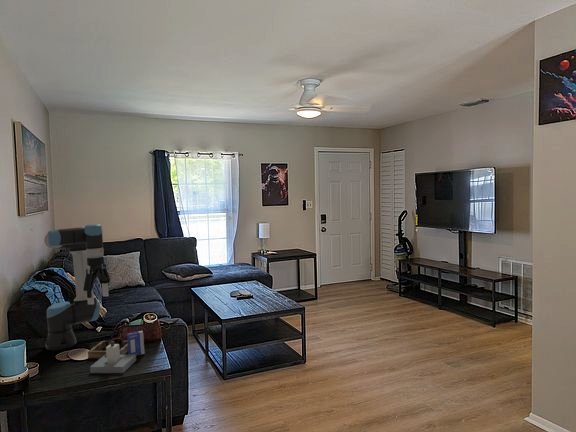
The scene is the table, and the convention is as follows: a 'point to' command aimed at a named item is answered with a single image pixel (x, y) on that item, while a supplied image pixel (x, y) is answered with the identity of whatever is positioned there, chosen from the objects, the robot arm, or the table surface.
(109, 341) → the pottery mug
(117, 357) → the plug
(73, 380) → the table surface
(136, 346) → the walkman
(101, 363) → the socket plate
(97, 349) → the mug frame
